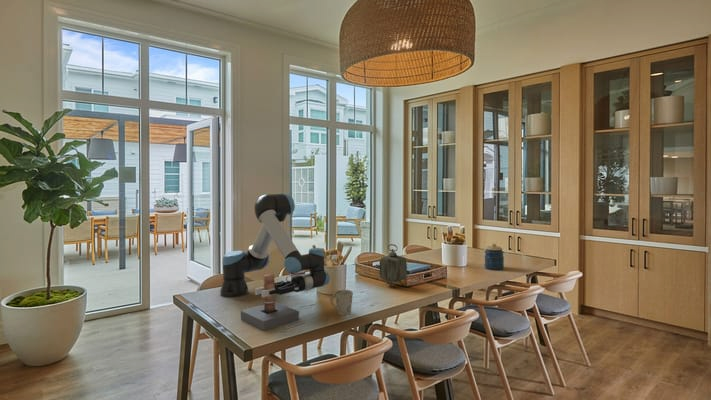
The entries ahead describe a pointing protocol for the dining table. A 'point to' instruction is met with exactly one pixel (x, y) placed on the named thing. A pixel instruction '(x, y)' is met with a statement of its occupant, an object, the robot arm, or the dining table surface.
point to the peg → (270, 300)
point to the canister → (494, 258)
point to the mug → (343, 301)
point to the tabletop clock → (393, 267)
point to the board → (269, 316)
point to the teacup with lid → (295, 274)
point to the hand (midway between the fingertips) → (258, 293)
